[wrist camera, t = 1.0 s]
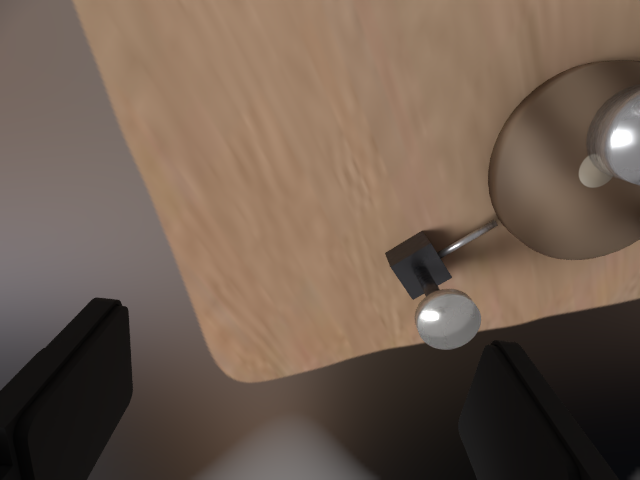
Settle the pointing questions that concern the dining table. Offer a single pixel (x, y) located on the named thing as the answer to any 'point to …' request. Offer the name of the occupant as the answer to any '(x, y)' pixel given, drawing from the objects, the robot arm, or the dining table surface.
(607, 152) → the lid
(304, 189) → the dining table surface
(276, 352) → the dining table surface
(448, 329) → the lever with ball knob
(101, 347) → the robot arm
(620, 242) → the turntable
